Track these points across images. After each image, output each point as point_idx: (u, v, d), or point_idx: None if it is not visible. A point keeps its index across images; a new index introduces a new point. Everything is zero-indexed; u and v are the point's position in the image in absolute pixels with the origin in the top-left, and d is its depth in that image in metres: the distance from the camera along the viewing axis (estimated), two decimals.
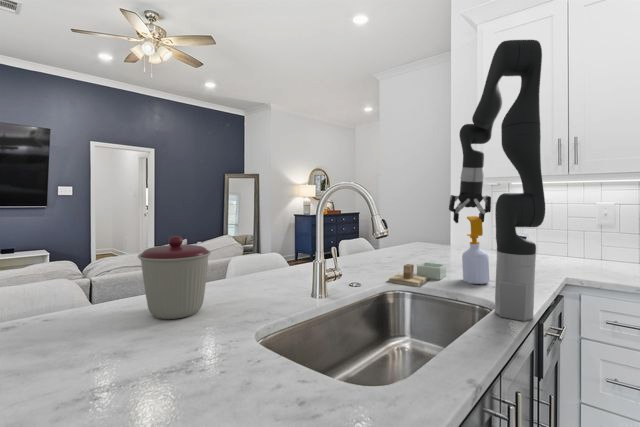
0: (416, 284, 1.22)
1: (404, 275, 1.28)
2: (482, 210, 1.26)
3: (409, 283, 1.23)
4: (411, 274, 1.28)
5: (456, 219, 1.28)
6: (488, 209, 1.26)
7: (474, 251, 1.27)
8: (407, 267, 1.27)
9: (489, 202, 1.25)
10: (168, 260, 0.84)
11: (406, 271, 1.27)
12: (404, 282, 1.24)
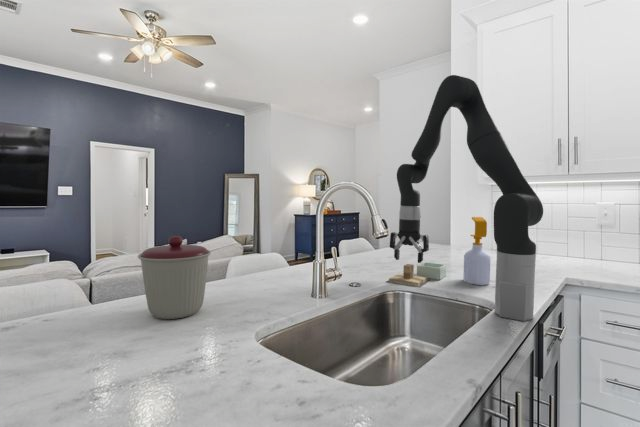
0: (416, 284, 1.22)
1: (404, 275, 1.28)
2: (418, 249, 1.25)
3: (409, 283, 1.23)
4: (411, 274, 1.28)
5: (395, 256, 1.31)
6: (424, 248, 1.24)
7: (477, 252, 1.26)
8: (407, 267, 1.27)
9: (425, 241, 1.24)
10: (168, 260, 0.84)
11: (406, 271, 1.27)
12: (404, 282, 1.24)
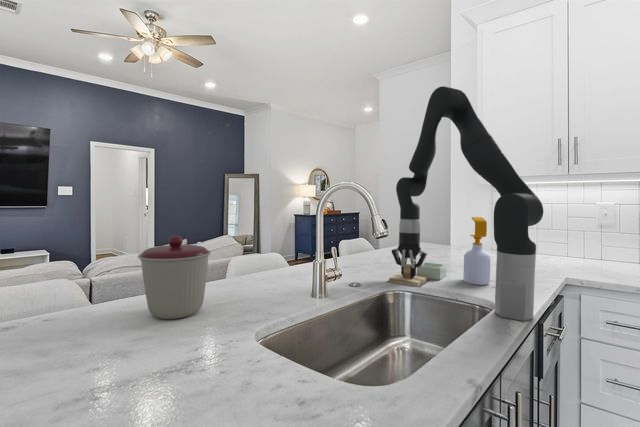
0: (416, 284, 1.22)
1: (404, 275, 1.28)
2: (412, 264, 1.27)
3: (409, 283, 1.23)
4: None
5: (402, 273, 1.29)
6: (417, 264, 1.26)
7: (476, 252, 1.26)
8: (407, 267, 1.27)
9: (422, 258, 1.25)
10: (168, 260, 0.84)
11: (406, 271, 1.27)
12: (404, 282, 1.24)
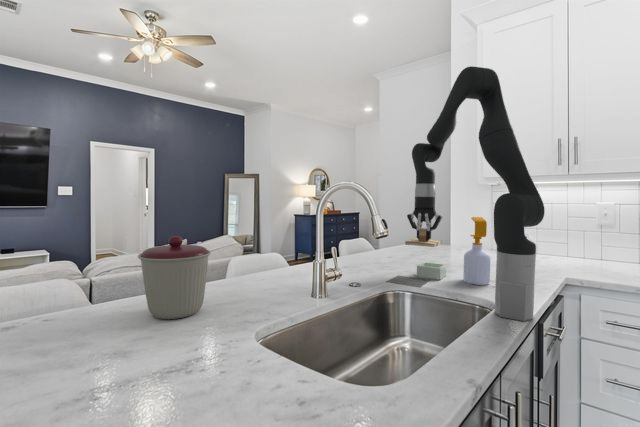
0: (432, 245, 1.26)
1: (420, 238, 1.32)
2: (428, 227, 1.31)
3: (425, 244, 1.28)
4: None
5: (418, 236, 1.34)
6: (432, 226, 1.30)
7: (476, 252, 1.26)
8: (423, 230, 1.31)
9: (437, 221, 1.29)
10: (168, 260, 0.84)
11: (422, 234, 1.32)
12: (420, 244, 1.29)
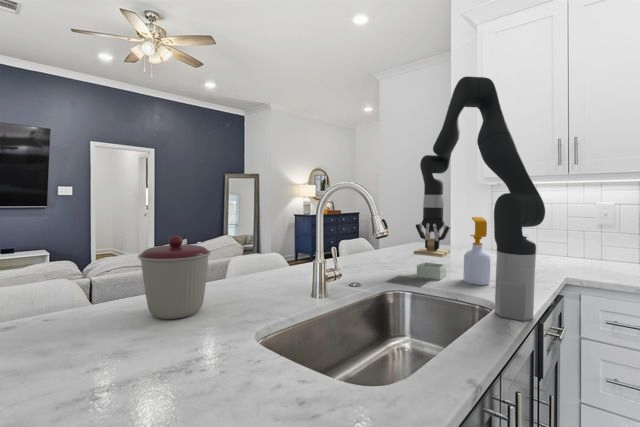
0: (440, 255, 1.29)
1: (428, 248, 1.35)
2: (436, 237, 1.34)
3: (434, 254, 1.30)
4: None
5: (426, 246, 1.36)
6: (440, 237, 1.33)
7: (477, 252, 1.26)
8: (431, 240, 1.34)
9: (445, 231, 1.32)
10: (168, 260, 0.84)
11: (430, 244, 1.34)
12: (429, 254, 1.31)
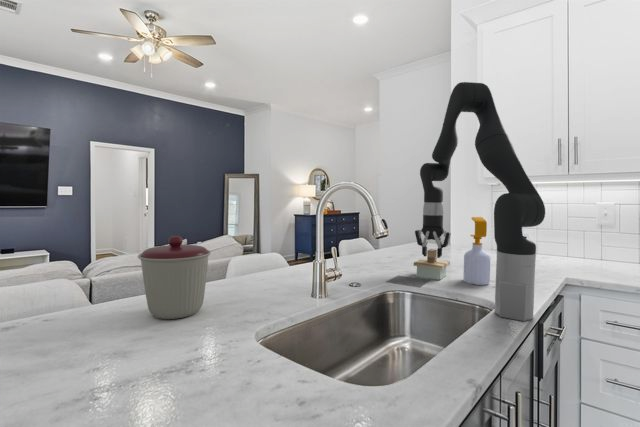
0: (440, 267, 1.29)
1: (428, 259, 1.35)
2: (438, 244, 1.33)
3: (433, 266, 1.30)
4: (434, 258, 1.35)
5: (423, 252, 1.37)
6: (443, 244, 1.32)
7: (476, 252, 1.26)
8: (431, 252, 1.34)
9: (446, 238, 1.31)
10: (168, 260, 0.84)
11: (430, 255, 1.34)
12: (428, 265, 1.31)
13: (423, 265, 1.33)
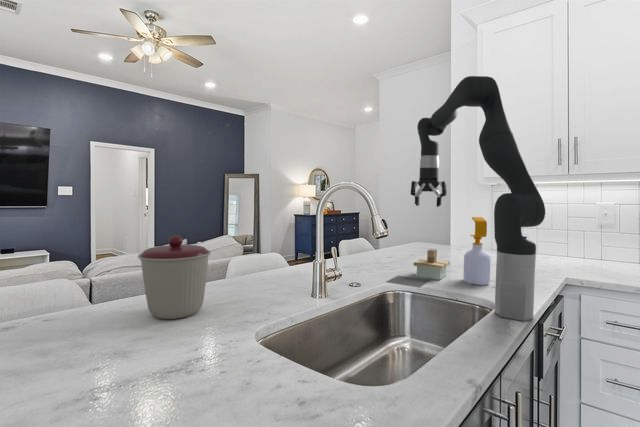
0: (440, 267, 1.29)
1: (428, 259, 1.35)
2: (437, 194, 1.40)
3: (433, 266, 1.30)
4: (434, 258, 1.35)
5: (416, 202, 1.45)
6: (443, 193, 1.39)
7: (477, 252, 1.26)
8: (431, 252, 1.34)
9: (443, 186, 1.38)
10: (168, 260, 0.84)
11: (430, 255, 1.34)
12: (428, 265, 1.31)
13: (423, 265, 1.33)
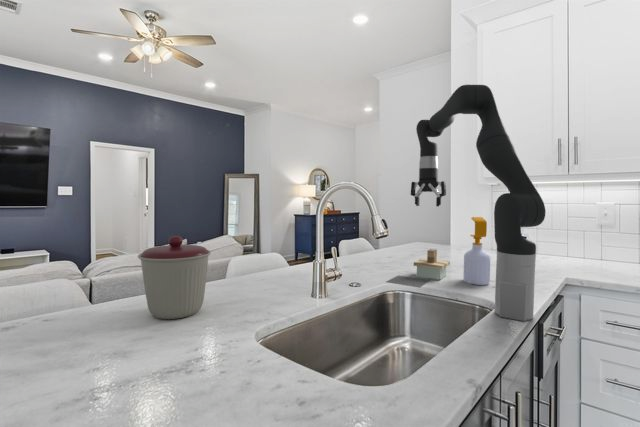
0: (440, 267, 1.29)
1: (428, 259, 1.35)
2: (437, 194, 1.42)
3: (433, 266, 1.30)
4: (434, 258, 1.35)
5: (416, 202, 1.47)
6: (442, 193, 1.41)
7: (476, 252, 1.26)
8: (431, 252, 1.34)
9: (443, 186, 1.41)
10: (168, 260, 0.84)
11: (430, 255, 1.34)
12: (428, 265, 1.31)
13: (423, 265, 1.33)
